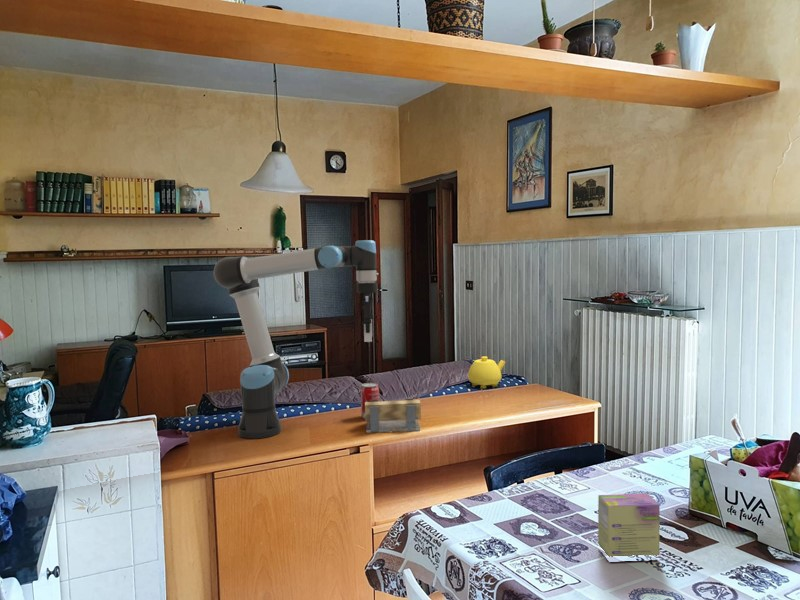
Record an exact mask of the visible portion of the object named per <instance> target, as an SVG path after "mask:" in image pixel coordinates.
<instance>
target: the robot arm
mask: <svg viewBox="0 0 800 600" xmlns="http://www.w3.org/2000/svg"><path fill="white" fill-rule="evenodd" d="M376 246H377V245H376V241H374V240H371V239H369V240H368V239H367V240H366V239H364V240H356V241H355V244H354V245H350V246H349V245H347V246H346V245H342V246H339V245H333V244H332V245H331V244H330V245H325V246H322V247H317V248H309V249H302V250H296V251H290V252H284V253H283V252H282V253H277V254H271V255H270V254H269V255H264V256H257V257H251V258H249V257H247V256H243V255H242V256H241V255H240V256H226V257H225V256H224V257H223V258H221V259H219V260H218V261H217V262H216V263H215V265H214V268H213V273H212V274H213V278H214V280H215V282H216V283H217V284H218V286H221V288H225V289H227V291H228V295H229V297H231V298H233V299H234V301H235V304H236V307H237V310H238V314H239V317H240V320H241V325H242V328H243V331H244V335H245V339H246V342H247V345H248V348H249V352H250V355H251V358H252V359H251V361H250V364H249V367H246V368H244V369H242V370H241V372H240V379H239V383H240V395H241V411H242V412H241V417H240V420H239V424H238V428H237V432H238V433H237V435H238V436H239V437H240V438H243V439H250V440H251V439H264V438H269V437H273V436H276V435H278V434H280V433H281V432H282V422H281V420H280V419H279V415H278V413H277V410H276V395H277V394H279V393H280V392H281V391H282V390H283V389H285V387H286V386H287V384H288V382H289V378H290V373H289V369H288V367H287V366H286V365H285V364H284V363H283V361H282V359H281V356H280V355H279V354H277V353H276V352H275V350H274V346H273V343H272V338H271V336H270V332H269V329H268V326H267V321H266V318H265V315H264V312H263V308H262V304H261V301H260V298H259V294H258V293H259V290H260V288H261V286H260V283H259V280H260V279H265V278H273V277H279V276H280V277H281V276H284V275H285V276H286V275H292V274H298V273H304V272H310V271H317V270H325V269H333V268H341V267H342V268H344V267H355V268H356V271H355V273H356V274H355V275H356V282H357V283H356V292H357V293H358V294H363V297H361V303H362V310H363V320H362V321H361V323H362V325H363V336H364V337H363V338H364V339H363V341H364V343H366V342H367V343H370V342H371V343H372V342H373V319H374V316H373V314H372V309H373V301H374V299H373V297H372V294H374V293H377V292H378V283H377V280H378V279H377V278H378V277H377V276H379V272H377V247H376Z"/></svg>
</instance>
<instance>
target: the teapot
mask: <svg viewBox="0 0 800 600" xmlns="http://www.w3.org/2000/svg"><path fill="white" fill-rule="evenodd" d="M505 364H506V361H505V360H503V359H501V360H500V361H499V362H498V363H496V361H495V360H493V359H490V358H489V359H488V356H485V355H484V356H481V357H480V359H475V360H474V361H473V362H472V364H471V366H470V368H469V369H468V375H467V379H468V380H469V382H471V384H472V385H471V386H472V387H474V386H475V387H476V386H480V389H482V390H483V389H487V386H491V387H495V388H497V387H499V385H498V383H499V382H500V381H501V380H502V378H503V377H502V369H503V368H504V366H505Z"/></svg>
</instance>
